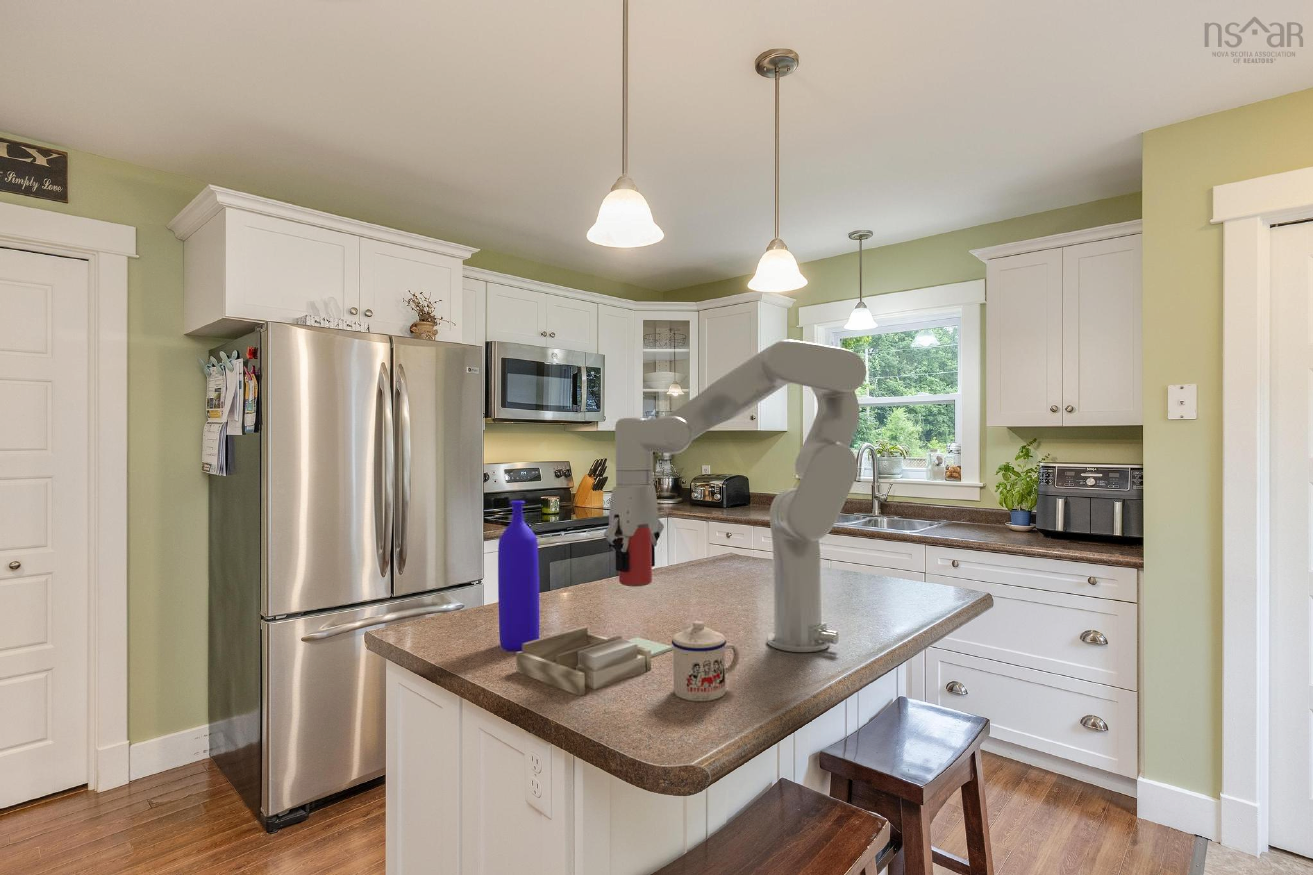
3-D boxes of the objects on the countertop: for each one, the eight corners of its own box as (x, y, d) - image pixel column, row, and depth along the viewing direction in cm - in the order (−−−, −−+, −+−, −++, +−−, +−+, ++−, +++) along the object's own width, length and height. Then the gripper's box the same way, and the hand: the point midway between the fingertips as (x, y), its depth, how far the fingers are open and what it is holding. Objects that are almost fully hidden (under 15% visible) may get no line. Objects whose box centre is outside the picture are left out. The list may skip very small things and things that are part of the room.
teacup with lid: (686, 706, 105) (685, 632, 105) (664, 687, 113) (662, 618, 113) (752, 694, 109) (751, 623, 109) (726, 676, 118) (725, 610, 118)
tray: (651, 668, 122) (650, 641, 122) (580, 695, 110) (579, 665, 110) (586, 649, 134) (586, 624, 134) (516, 671, 122) (516, 644, 122)
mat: (672, 649, 133) (672, 646, 133) (637, 662, 126) (637, 659, 126) (637, 640, 140) (637, 637, 140) (602, 651, 133) (602, 648, 133)
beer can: (648, 587, 129) (647, 526, 129) (615, 586, 130) (614, 525, 131) (655, 580, 136) (654, 522, 136) (623, 579, 137) (623, 521, 137)
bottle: (547, 642, 140) (545, 499, 140) (524, 654, 132) (521, 503, 132) (515, 638, 143) (513, 498, 143) (490, 649, 135) (488, 502, 136)
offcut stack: (645, 672, 121) (645, 642, 121) (594, 690, 113) (593, 658, 113) (627, 666, 125) (626, 636, 125) (576, 683, 116) (575, 651, 116)
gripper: (650, 476, 142) (651, 560, 142) (589, 481, 129) (590, 572, 129) (677, 477, 137) (678, 564, 137) (615, 482, 124) (617, 577, 124)
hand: (635, 567), depth 133 cm, fingers closed on beer can, 6 cm apart
